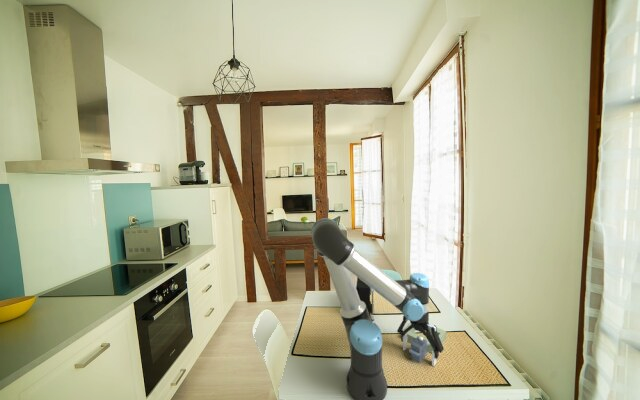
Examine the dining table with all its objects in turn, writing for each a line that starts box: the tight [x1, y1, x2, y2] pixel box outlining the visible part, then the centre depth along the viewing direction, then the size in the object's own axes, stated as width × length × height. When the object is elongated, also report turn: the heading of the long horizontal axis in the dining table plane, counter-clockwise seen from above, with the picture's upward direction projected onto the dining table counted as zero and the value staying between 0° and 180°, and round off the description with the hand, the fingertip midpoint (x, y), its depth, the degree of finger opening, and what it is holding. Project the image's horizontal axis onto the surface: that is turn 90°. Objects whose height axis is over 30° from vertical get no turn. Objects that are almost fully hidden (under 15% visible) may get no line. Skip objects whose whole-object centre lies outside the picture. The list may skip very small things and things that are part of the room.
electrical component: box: [355, 276, 375, 322], centre depth 141 cm, size 18×10×20 cm, turn 168°
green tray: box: [406, 323, 447, 354], centre depth 119 cm, size 15×15×4 cm
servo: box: [408, 336, 428, 364], centre depth 107 cm, size 10×4×8 cm, turn 133°
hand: (418, 356), depth 107 cm, fingers open, 12 cm apart
